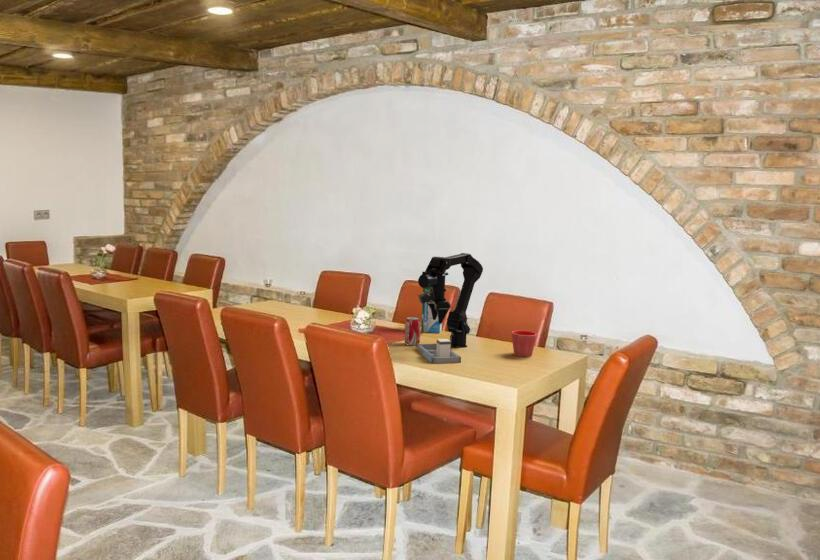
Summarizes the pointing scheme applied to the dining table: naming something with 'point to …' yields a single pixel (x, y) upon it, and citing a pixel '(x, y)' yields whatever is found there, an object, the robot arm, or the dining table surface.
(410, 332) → the soda can
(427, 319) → the milk carton
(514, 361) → the dining table surface
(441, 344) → the cylinder
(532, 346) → the flower pot
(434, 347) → the grey divided tray
